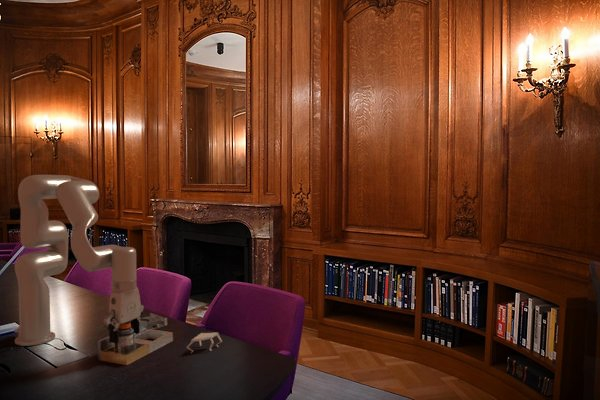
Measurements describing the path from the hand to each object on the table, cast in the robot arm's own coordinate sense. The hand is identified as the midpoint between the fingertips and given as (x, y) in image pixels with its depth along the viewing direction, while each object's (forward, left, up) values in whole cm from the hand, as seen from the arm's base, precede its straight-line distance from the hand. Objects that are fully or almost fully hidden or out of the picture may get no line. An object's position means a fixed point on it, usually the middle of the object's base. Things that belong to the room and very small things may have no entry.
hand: (124, 337), depth 149 cm
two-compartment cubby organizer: (0, +6, -6) cm, 9 cm away
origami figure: (+20, +14, -7) cm, 26 cm away
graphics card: (-16, +27, -7) cm, 32 cm away
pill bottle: (0, 0, -7) cm, 7 cm away
